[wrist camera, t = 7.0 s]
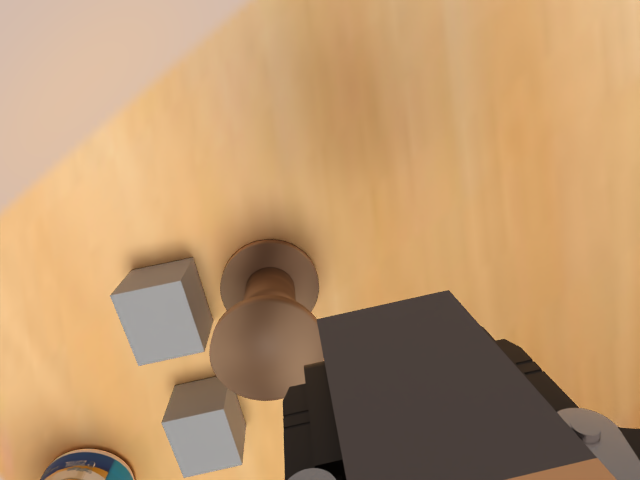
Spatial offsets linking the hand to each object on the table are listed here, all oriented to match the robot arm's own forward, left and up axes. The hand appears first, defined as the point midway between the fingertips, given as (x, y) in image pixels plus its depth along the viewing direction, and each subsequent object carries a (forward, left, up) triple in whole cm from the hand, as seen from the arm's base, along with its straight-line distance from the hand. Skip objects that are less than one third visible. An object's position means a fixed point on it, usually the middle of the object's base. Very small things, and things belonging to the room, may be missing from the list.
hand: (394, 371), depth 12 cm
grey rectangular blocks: (+14, +11, -22) cm, 28 cm away
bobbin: (+6, +6, -22) cm, 23 cm away
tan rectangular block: (0, 0, -1) cm, 1 cm away
